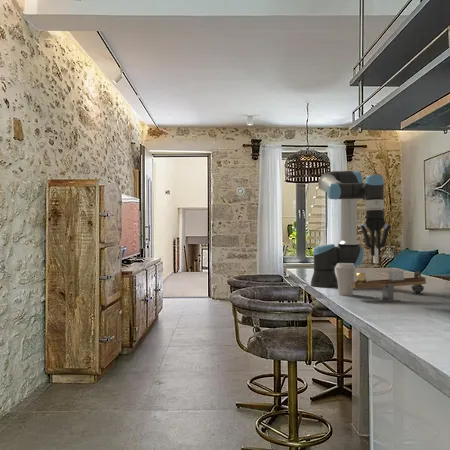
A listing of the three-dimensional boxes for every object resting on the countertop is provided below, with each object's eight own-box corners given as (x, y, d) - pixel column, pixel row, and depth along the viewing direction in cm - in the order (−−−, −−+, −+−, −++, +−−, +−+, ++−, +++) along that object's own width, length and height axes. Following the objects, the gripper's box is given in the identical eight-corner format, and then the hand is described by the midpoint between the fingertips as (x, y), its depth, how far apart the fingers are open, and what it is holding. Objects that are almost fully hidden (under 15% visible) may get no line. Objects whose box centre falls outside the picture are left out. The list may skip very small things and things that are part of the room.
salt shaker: (414, 292, 203) (413, 268, 203) (426, 294, 198) (426, 269, 198) (409, 294, 199) (408, 269, 199) (421, 295, 194) (420, 270, 195)
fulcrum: (375, 298, 185) (375, 281, 185) (393, 298, 184) (393, 281, 185) (381, 301, 176) (381, 283, 176) (400, 302, 175) (400, 283, 176)
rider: (389, 281, 183) (388, 270, 183) (400, 281, 182) (399, 269, 182) (392, 283, 178) (391, 271, 178) (404, 282, 178) (403, 270, 178)
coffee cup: (357, 296, 192) (356, 264, 192) (336, 295, 194) (335, 264, 194) (354, 293, 201) (354, 263, 202) (334, 293, 203) (334, 262, 204)
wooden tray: (351, 286, 185) (350, 280, 185) (419, 282, 183) (419, 275, 183) (354, 288, 178) (354, 282, 178) (426, 283, 176) (425, 277, 176)
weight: (356, 284, 184) (355, 273, 184) (365, 283, 183) (364, 272, 183) (358, 285, 180) (357, 274, 180) (367, 284, 179) (366, 273, 179)
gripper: (361, 209, 179) (362, 263, 178) (392, 209, 177) (393, 263, 176) (357, 210, 186) (358, 262, 185) (387, 210, 185) (388, 262, 184)
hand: (375, 263), depth 181 cm, fingers closed
